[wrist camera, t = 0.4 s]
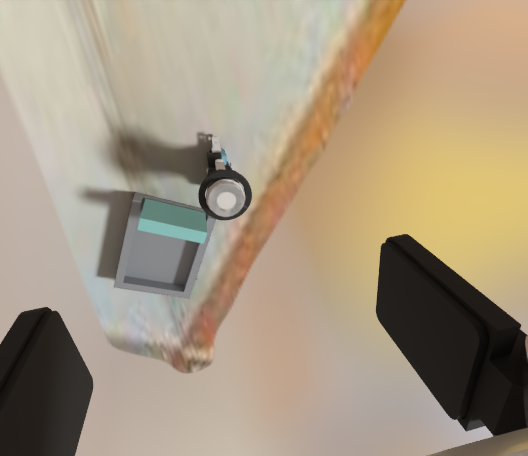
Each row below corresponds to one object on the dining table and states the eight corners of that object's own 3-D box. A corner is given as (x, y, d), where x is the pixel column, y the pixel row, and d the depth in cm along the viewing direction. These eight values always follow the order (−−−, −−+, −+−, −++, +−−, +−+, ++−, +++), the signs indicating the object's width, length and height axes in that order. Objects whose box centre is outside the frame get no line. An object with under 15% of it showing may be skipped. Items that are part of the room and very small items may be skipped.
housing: (135, 192, 41) (132, 199, 39) (214, 211, 44) (215, 219, 42) (116, 276, 46) (113, 287, 44) (189, 288, 49) (189, 298, 47)
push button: (192, 137, 39) (193, 163, 30) (237, 133, 40) (251, 158, 31) (199, 190, 42) (202, 227, 34) (241, 185, 43) (254, 221, 35)
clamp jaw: (145, 198, 40) (140, 218, 36) (205, 212, 43) (207, 232, 38) (142, 209, 41) (137, 229, 36) (202, 222, 43) (203, 243, 39)
